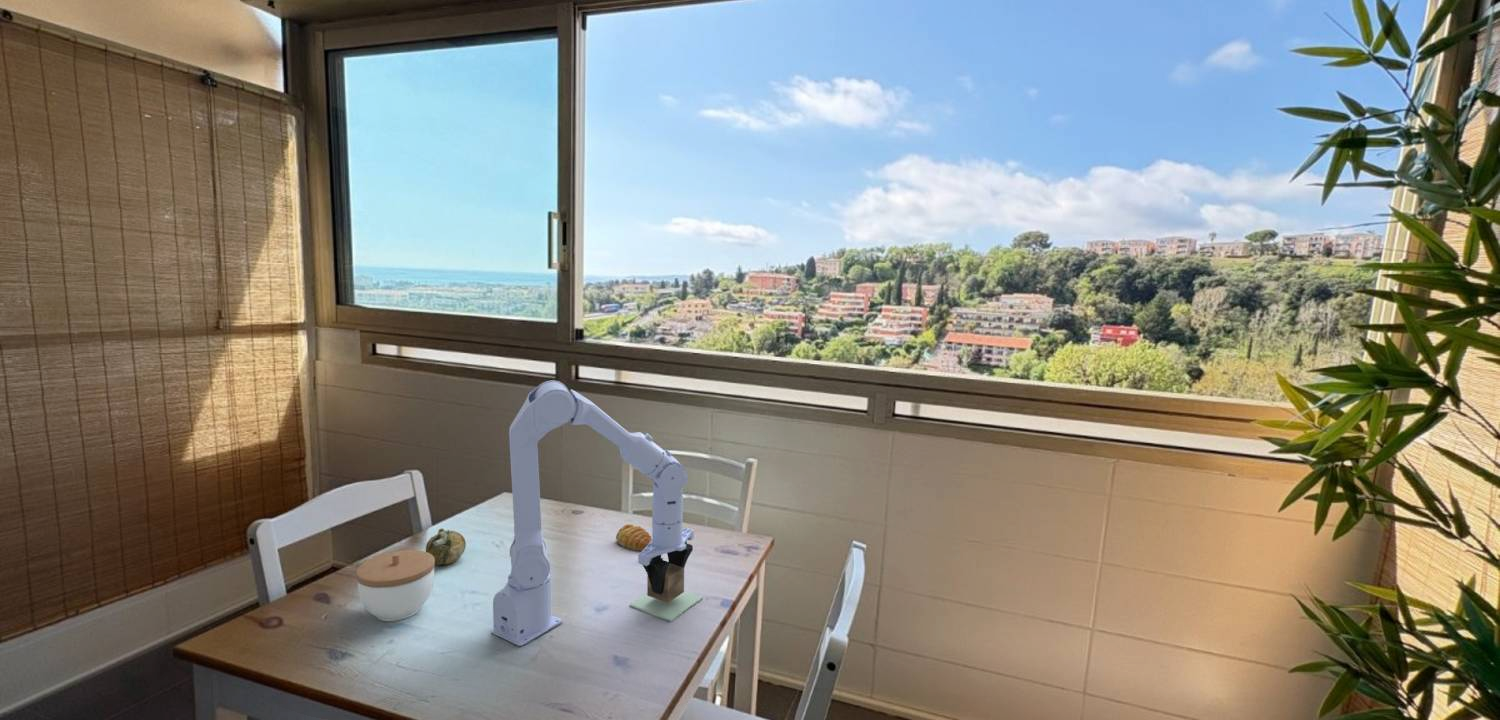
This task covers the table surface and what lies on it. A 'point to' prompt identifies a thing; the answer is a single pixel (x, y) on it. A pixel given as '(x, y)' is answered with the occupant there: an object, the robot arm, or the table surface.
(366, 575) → the lidded bowl
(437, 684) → the table surface
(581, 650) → the table surface
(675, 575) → the walnut cube
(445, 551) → the green pumpkin
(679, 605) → the green pad
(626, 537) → the pastry
